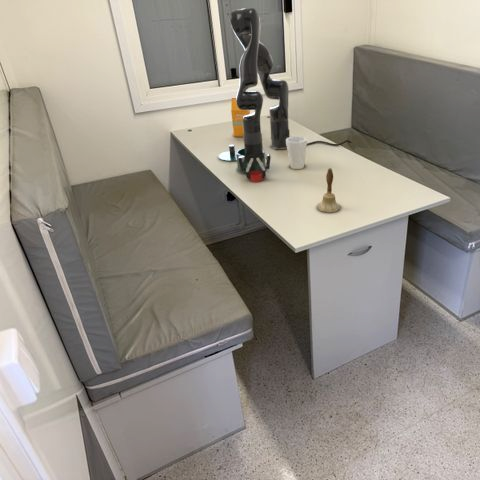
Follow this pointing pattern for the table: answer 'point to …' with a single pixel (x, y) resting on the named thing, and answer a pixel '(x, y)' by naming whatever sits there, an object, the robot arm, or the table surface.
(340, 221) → the table surface
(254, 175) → the cylinder
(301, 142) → the foam cup
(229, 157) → the lid
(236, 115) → the orange juice
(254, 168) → the tin
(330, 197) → the hand bell
